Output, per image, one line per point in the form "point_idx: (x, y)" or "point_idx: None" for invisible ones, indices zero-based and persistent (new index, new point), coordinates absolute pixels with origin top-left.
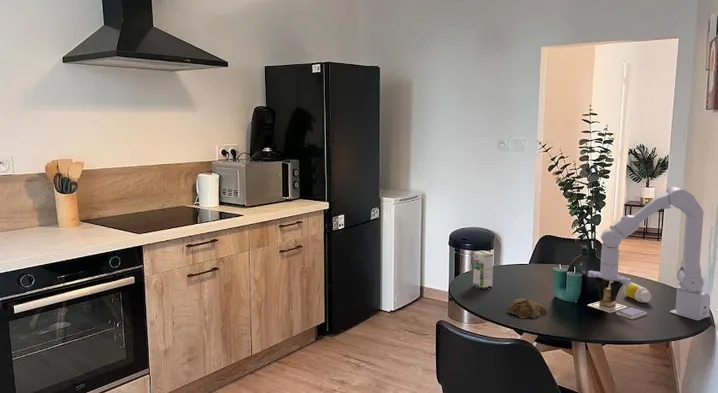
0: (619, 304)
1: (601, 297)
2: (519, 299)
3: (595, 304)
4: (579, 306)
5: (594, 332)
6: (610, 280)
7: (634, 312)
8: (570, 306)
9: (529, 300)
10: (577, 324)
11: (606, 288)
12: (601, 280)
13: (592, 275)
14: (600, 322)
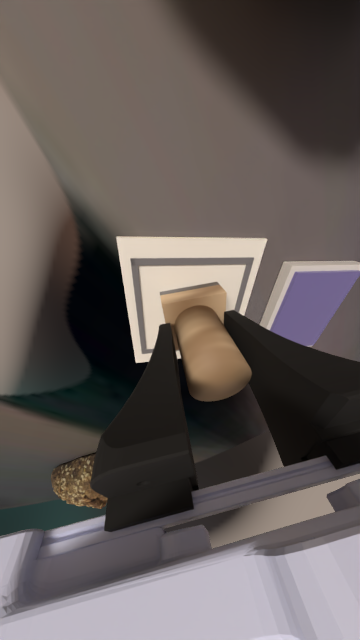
0: (221, 241)
1: (176, 355)
2: (80, 505)
3: (150, 338)
4: (129, 382)
5: (252, 429)
6: (283, 476)
7: (319, 316)
8: (115, 400)
9: (96, 497)
10: (212, 433)
11: (204, 383)
12: (192, 485)
13: (60, 558)
14: (242, 403)
